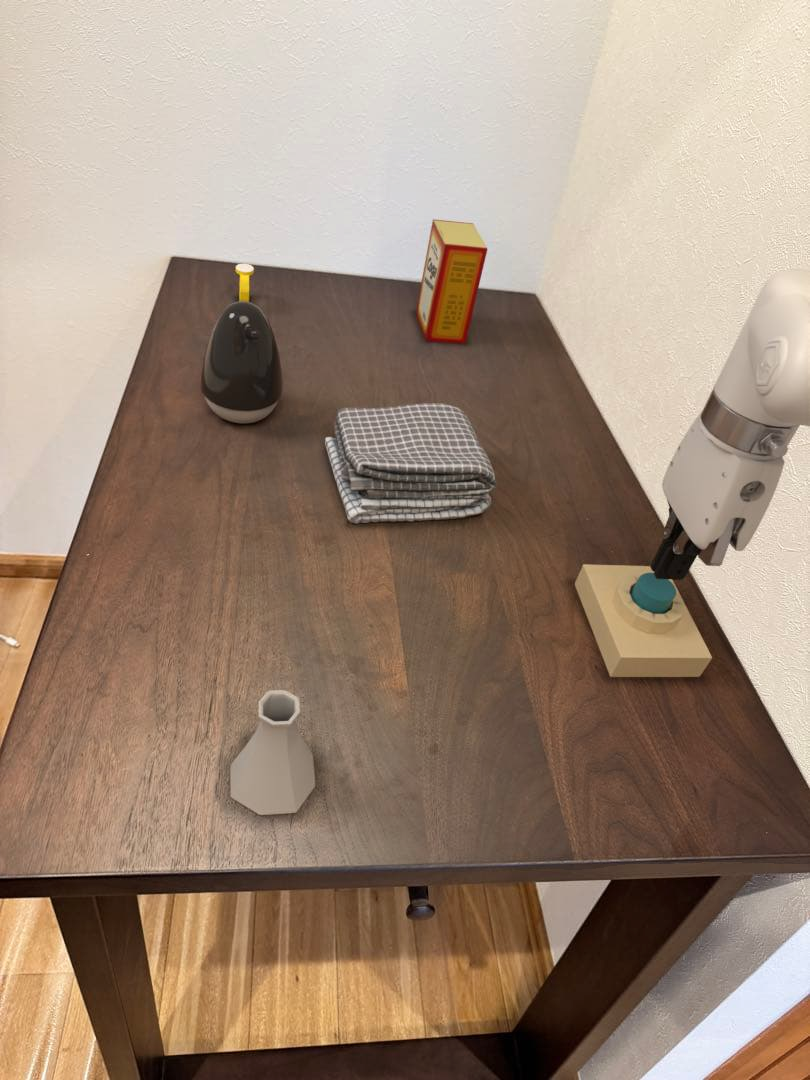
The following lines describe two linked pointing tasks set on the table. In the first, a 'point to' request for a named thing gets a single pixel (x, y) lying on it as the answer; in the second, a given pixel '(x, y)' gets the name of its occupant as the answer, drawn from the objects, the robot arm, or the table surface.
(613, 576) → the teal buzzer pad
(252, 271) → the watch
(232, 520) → the table surface
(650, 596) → the teal disc
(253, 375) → the black egg shape
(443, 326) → the baking soda box
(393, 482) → the towel
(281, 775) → the flask
